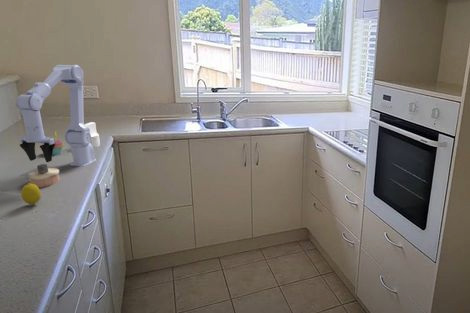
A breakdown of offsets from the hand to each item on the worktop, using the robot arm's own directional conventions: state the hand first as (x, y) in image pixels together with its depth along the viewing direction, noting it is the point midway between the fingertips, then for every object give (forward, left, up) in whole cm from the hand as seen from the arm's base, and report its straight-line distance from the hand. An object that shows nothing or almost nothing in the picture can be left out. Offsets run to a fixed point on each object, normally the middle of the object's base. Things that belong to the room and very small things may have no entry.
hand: (40, 160), depth 130 cm
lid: (0, 0, -6) cm, 6 cm away
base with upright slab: (-49, -16, -10) cm, 52 cm away
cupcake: (-32, -24, -10) cm, 41 cm away
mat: (-9, -10, -9) cm, 16 cm away
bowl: (0, 0, -9) cm, 9 cm away
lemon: (+17, +11, -10) cm, 22 cm away
